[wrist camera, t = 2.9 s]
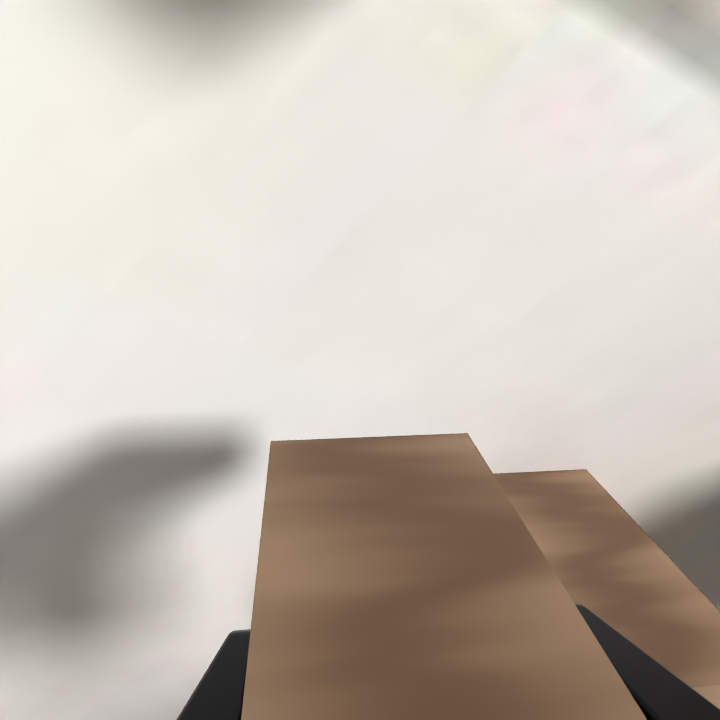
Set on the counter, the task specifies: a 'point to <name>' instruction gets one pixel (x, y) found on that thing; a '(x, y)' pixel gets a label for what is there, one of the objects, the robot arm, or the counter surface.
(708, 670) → the domino
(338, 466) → the domino
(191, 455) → the counter surface
